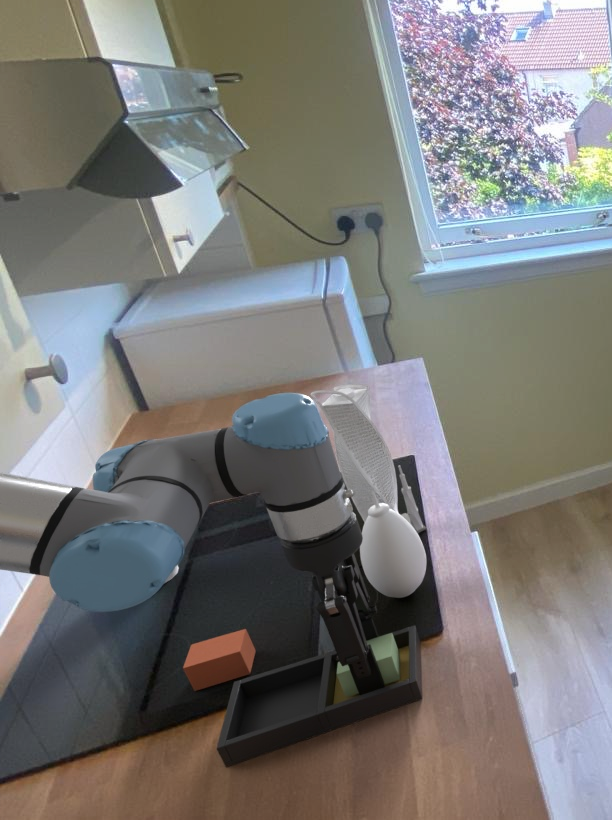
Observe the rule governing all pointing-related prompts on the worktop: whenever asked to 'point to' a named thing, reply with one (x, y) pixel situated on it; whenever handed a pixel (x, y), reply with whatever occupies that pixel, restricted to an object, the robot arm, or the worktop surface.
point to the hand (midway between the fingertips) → (372, 674)
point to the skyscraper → (364, 453)
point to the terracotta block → (219, 659)
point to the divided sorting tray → (309, 702)
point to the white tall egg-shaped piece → (391, 552)
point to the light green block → (386, 661)
